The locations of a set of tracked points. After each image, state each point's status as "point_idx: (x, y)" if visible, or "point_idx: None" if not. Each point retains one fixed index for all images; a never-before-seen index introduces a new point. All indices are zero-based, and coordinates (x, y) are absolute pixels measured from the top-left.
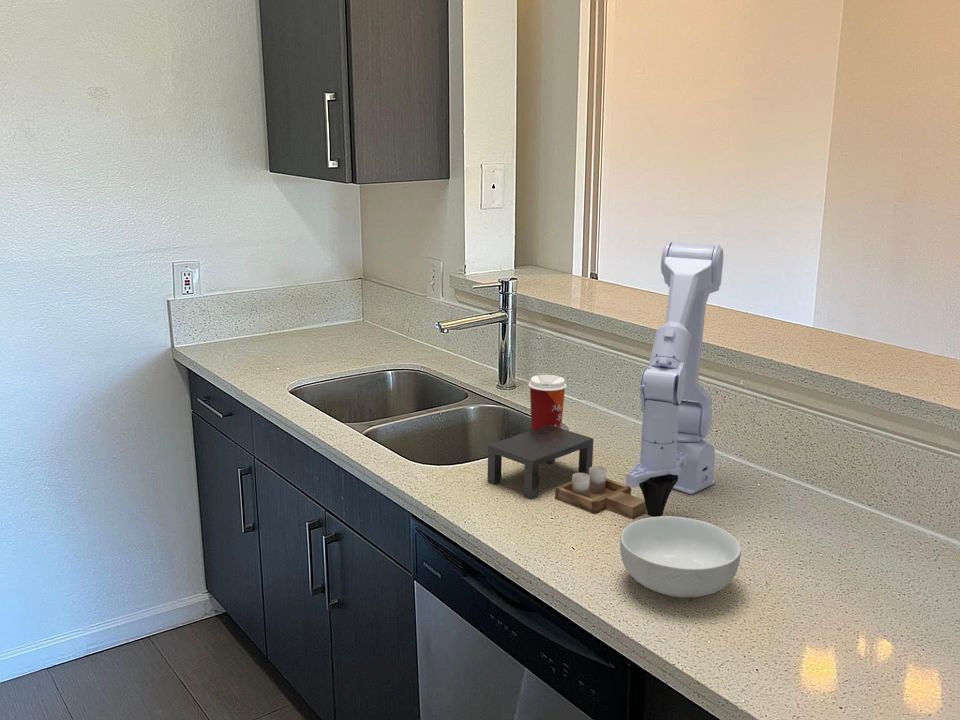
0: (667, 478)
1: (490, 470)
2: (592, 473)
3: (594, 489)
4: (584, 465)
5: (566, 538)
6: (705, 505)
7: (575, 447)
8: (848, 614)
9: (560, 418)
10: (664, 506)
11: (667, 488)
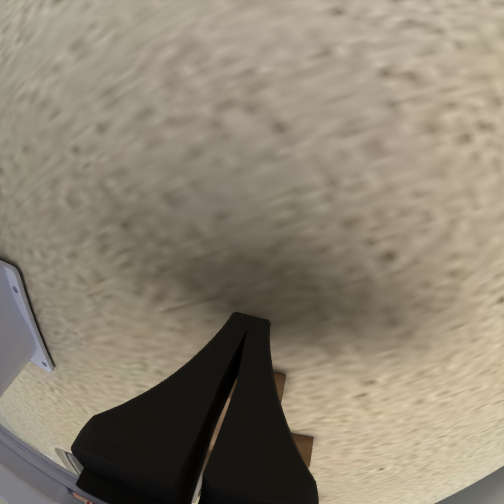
0: (176, 497)
1: None
2: (197, 496)
3: (207, 460)
4: None
5: (478, 427)
6: (26, 206)
7: None
8: None
9: (84, 499)
10: (221, 338)
11: (199, 430)
